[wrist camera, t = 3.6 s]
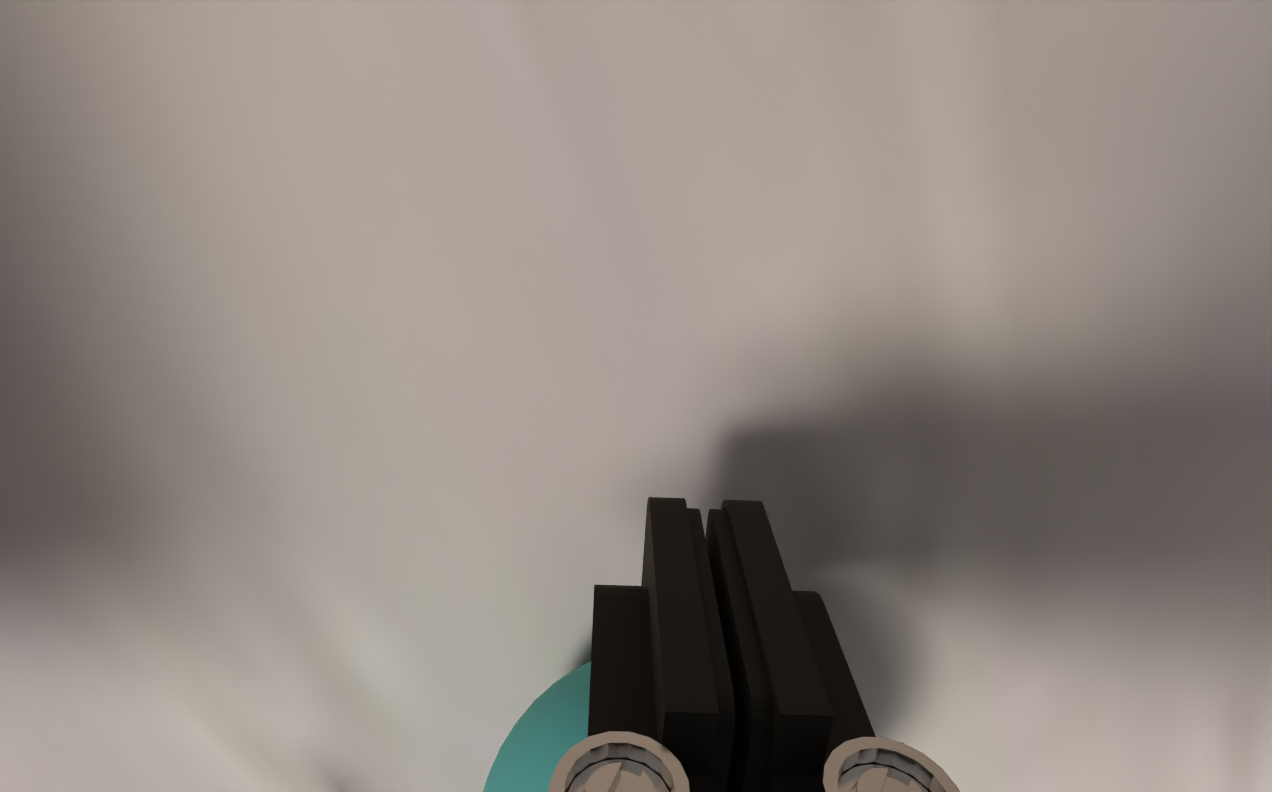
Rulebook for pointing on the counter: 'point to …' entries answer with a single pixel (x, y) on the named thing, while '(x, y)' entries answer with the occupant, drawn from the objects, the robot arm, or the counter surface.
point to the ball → (543, 736)
